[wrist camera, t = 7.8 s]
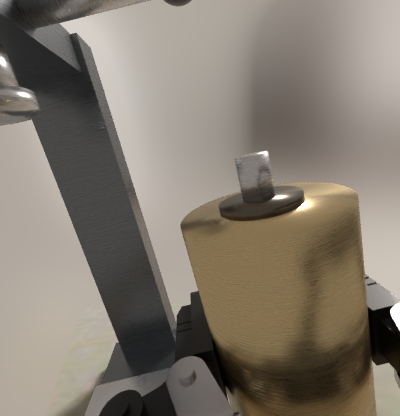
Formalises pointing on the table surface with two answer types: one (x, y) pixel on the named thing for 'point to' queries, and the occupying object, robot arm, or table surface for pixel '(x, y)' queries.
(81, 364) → the table surface
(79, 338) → the table surface
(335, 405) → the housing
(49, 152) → the press
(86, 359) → the table surface
